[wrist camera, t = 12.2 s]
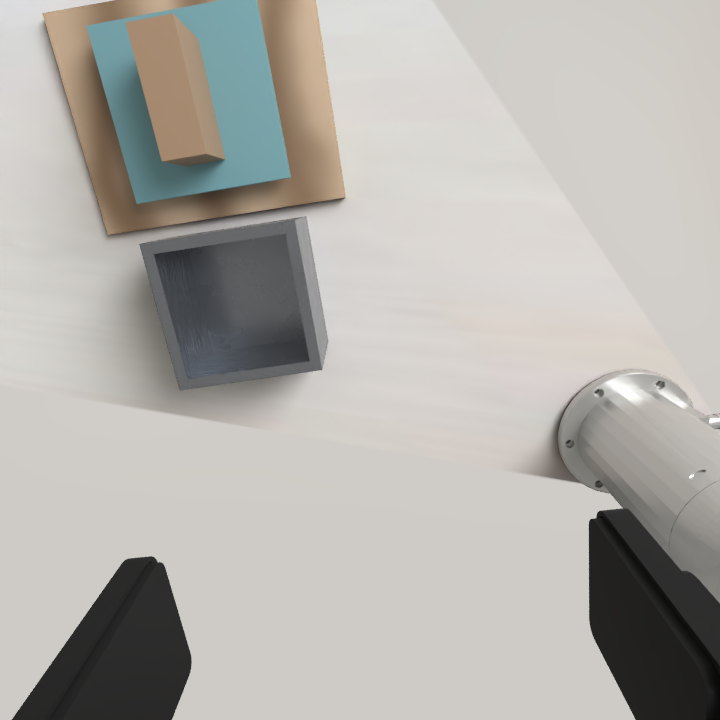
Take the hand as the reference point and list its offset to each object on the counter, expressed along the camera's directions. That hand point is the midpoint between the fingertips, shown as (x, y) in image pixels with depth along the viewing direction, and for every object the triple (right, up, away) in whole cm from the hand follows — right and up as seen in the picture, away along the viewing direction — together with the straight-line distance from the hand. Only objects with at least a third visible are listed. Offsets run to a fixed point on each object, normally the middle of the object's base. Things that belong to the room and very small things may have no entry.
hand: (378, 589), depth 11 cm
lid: (-13, +24, +28) cm, 39 cm away
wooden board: (-13, +25, +29) cm, 40 cm away
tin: (-10, +11, +33) cm, 36 cm away
